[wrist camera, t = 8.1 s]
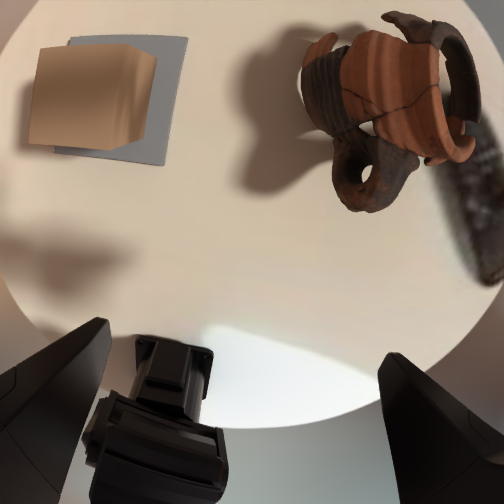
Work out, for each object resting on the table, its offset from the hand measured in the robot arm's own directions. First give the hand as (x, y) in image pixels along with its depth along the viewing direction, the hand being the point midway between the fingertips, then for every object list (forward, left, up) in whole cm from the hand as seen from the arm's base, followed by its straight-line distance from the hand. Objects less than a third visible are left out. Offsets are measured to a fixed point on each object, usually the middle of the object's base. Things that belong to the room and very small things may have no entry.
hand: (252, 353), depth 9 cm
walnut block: (+6, +10, -12) cm, 16 cm away
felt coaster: (+6, +10, -12) cm, 17 cm away
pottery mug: (+9, -6, -12) cm, 16 cm away
